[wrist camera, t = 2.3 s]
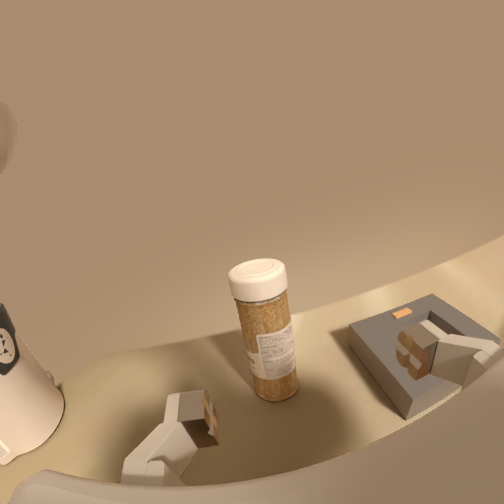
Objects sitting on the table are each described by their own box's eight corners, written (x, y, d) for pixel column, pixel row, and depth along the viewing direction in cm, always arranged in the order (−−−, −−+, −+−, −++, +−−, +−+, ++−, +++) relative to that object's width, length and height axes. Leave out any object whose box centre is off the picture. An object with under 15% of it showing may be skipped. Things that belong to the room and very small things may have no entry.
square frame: (405, 420, 17) (413, 398, 16) (348, 344, 29) (349, 322, 28) (492, 361, 18) (501, 338, 17) (429, 312, 30) (432, 292, 29)
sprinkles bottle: (252, 378, 27) (225, 263, 23) (293, 368, 27) (277, 252, 24) (259, 408, 23) (228, 284, 19) (305, 396, 23) (291, 270, 19)
